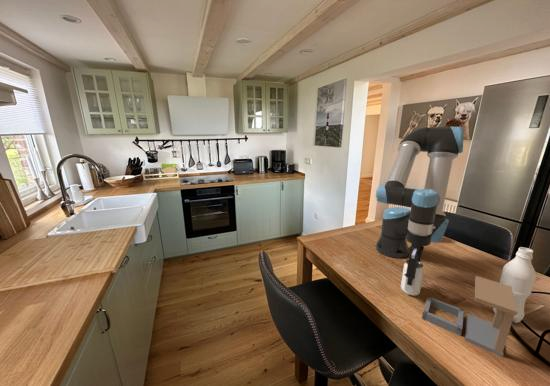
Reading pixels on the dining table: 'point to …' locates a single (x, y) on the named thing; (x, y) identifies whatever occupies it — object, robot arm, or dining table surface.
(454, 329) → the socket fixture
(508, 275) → the water bottle
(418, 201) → the robot arm
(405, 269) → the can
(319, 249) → the dining table surface
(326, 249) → the dining table surface
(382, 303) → the dining table surface
